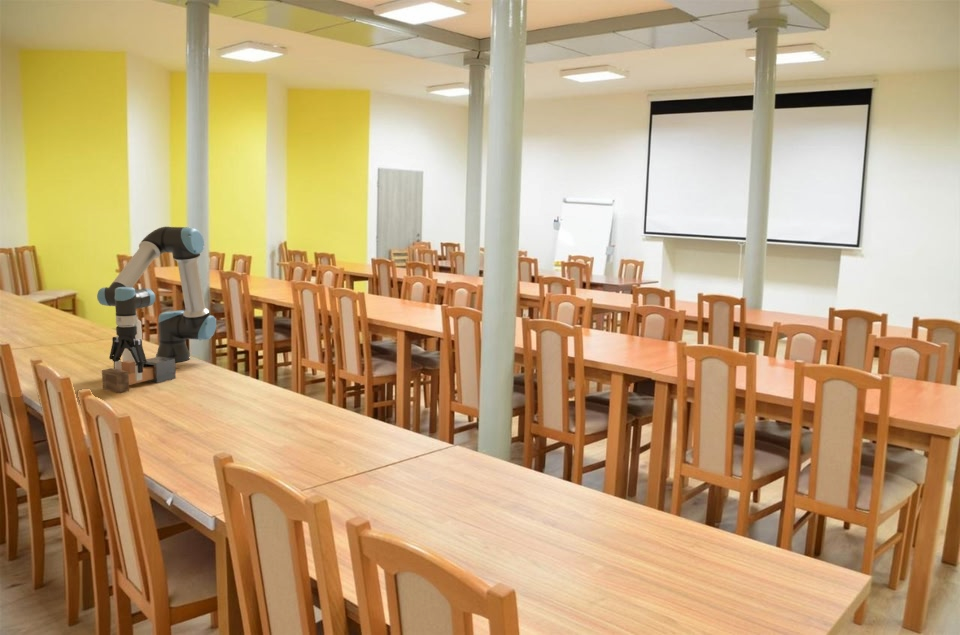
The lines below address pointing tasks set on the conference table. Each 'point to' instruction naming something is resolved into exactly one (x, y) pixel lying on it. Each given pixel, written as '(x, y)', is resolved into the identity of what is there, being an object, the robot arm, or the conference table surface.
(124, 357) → the bottle
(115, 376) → the brown rectangular block
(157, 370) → the sleeve
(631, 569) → the conference table surface
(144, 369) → the inner bar
